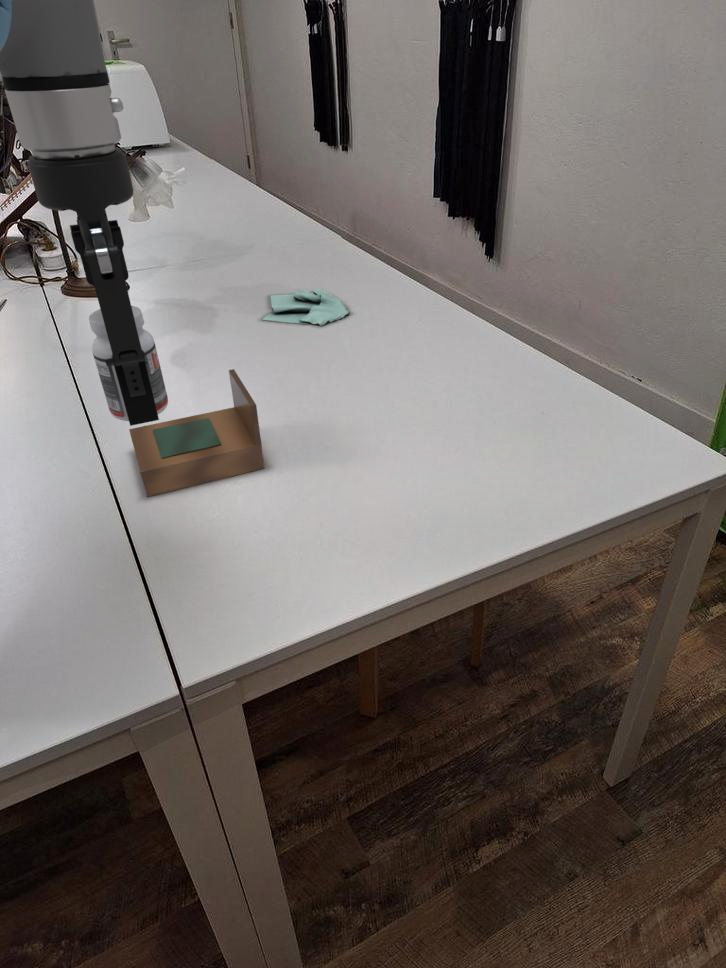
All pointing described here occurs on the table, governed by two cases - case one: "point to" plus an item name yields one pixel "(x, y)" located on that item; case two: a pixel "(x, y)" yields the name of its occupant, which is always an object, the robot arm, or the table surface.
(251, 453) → the shelf
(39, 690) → the table surface
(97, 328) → the pill bottle
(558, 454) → the table surface
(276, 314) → the cloth
